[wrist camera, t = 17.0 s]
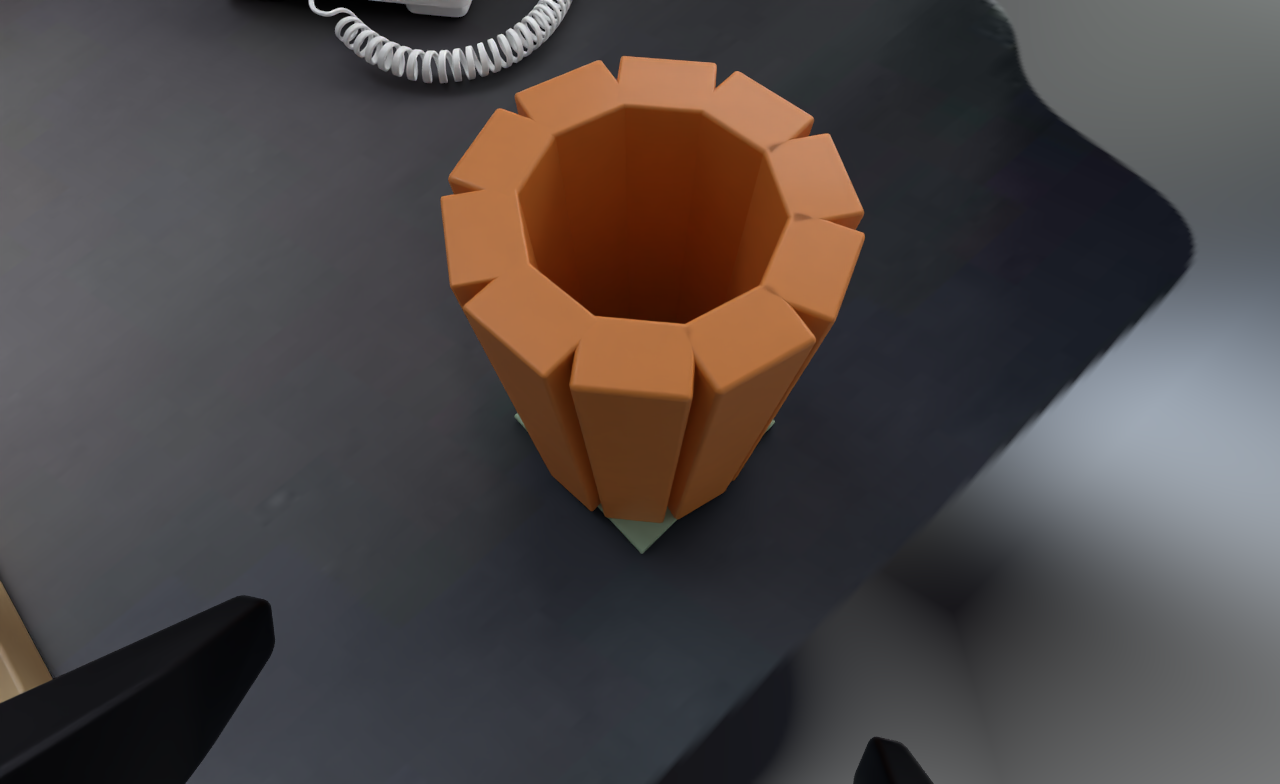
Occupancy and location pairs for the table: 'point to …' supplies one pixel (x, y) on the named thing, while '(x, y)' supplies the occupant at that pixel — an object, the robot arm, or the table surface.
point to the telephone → (451, 4)
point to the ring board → (17, 653)
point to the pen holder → (650, 272)
